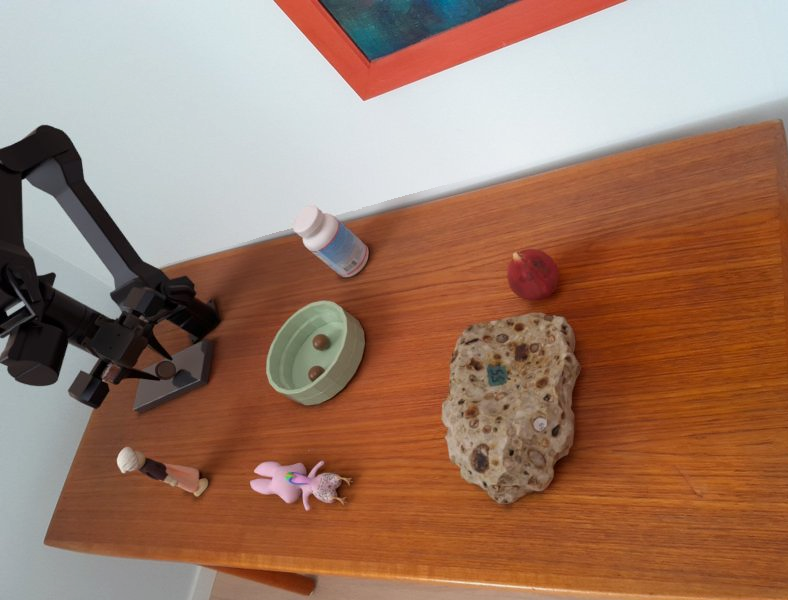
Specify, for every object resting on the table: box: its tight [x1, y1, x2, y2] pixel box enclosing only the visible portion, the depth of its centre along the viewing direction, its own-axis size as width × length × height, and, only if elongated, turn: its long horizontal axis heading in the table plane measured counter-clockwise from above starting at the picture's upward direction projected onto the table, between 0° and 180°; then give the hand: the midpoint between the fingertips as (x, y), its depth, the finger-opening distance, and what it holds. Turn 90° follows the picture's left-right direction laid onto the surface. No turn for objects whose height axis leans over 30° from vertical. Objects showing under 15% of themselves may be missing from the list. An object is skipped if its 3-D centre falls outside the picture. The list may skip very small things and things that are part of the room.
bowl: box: [265, 299, 366, 406], centre depth 92 cm, size 14×14×4 cm
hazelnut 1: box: [312, 334, 330, 351], centre depth 93 cm, size 2×2×2 cm
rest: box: [132, 338, 215, 414], centre depth 111 cm, size 8×16×2 cm, turn 95°
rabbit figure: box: [249, 460, 353, 512], centre depth 82 cm, size 6×6×15 cm
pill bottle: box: [292, 204, 370, 278], centre depth 97 cm, size 6×6×11 cm
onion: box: [506, 248, 560, 302], centre depth 76 cm, size 6×6×8 cm
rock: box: [441, 312, 582, 506], centre depth 70 cm, size 21×14×10 cm
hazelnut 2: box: [308, 366, 325, 382], centre depth 91 cm, size 2×2×2 cm
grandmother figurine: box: [116, 446, 209, 498], centre depth 91 cm, size 8×4×13 cm, turn 71°
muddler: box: [155, 360, 176, 380], centre depth 103 cm, size 3×3×12 cm
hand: (165, 369), depth 103 cm, fingers open, 3 cm apart
